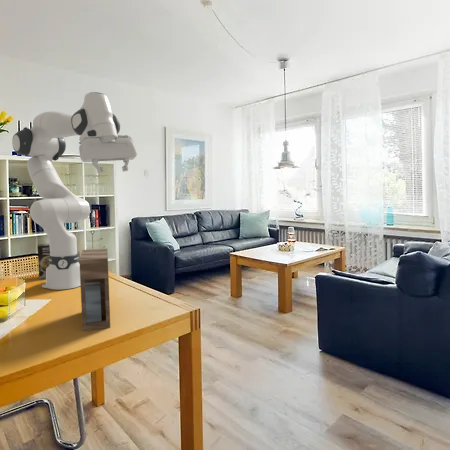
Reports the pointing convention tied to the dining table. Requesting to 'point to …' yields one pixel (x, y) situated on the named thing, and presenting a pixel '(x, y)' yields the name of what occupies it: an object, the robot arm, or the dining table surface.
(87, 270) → the walnut box
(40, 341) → the dining table surface
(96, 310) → the slate block
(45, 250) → the coffee box
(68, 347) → the dining table surface
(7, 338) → the dining table surface
